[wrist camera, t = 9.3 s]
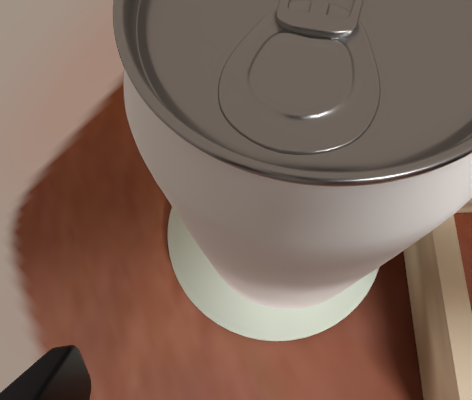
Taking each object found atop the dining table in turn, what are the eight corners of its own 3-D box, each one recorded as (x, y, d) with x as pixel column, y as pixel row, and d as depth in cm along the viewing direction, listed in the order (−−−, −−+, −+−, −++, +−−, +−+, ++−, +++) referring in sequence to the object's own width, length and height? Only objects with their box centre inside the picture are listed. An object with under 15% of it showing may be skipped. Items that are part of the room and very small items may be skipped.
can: (187, 287, 16) (-11, 147, 4) (230, 148, 18) (171, -189, 6) (348, 332, 15) (620, 299, 3) (375, 179, 17) (600, -156, 5)
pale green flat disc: (392, 343, 15) (396, 343, 14) (162, 339, 16) (158, 339, 15) (368, 137, 18) (371, 131, 18) (178, 141, 19) (175, 135, 18)
